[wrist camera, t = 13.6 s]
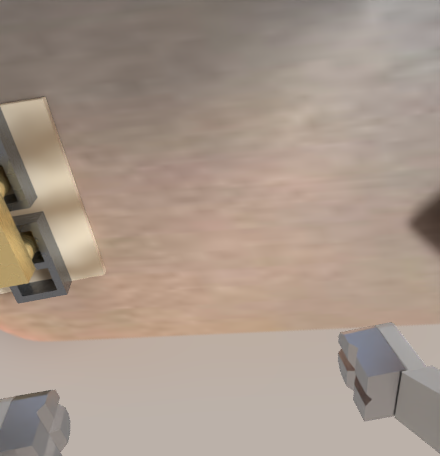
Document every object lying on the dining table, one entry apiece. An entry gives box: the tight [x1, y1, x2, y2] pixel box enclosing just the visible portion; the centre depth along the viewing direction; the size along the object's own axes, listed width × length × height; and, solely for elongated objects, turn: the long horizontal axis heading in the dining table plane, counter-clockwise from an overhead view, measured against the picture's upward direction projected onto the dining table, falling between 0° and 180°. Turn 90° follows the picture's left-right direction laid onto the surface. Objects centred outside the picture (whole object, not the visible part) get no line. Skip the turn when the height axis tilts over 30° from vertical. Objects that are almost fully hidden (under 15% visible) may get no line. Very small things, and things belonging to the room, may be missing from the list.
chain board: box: [0, 97, 106, 294], centre depth 40 cm, size 20×13×1 cm, turn 8°
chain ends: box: [0, 107, 72, 303], centre depth 38 cm, size 20×5×2 cm, turn 8°
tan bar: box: [0, 166, 38, 288], centre depth 36 cm, size 10×3×6 cm, turn 8°
